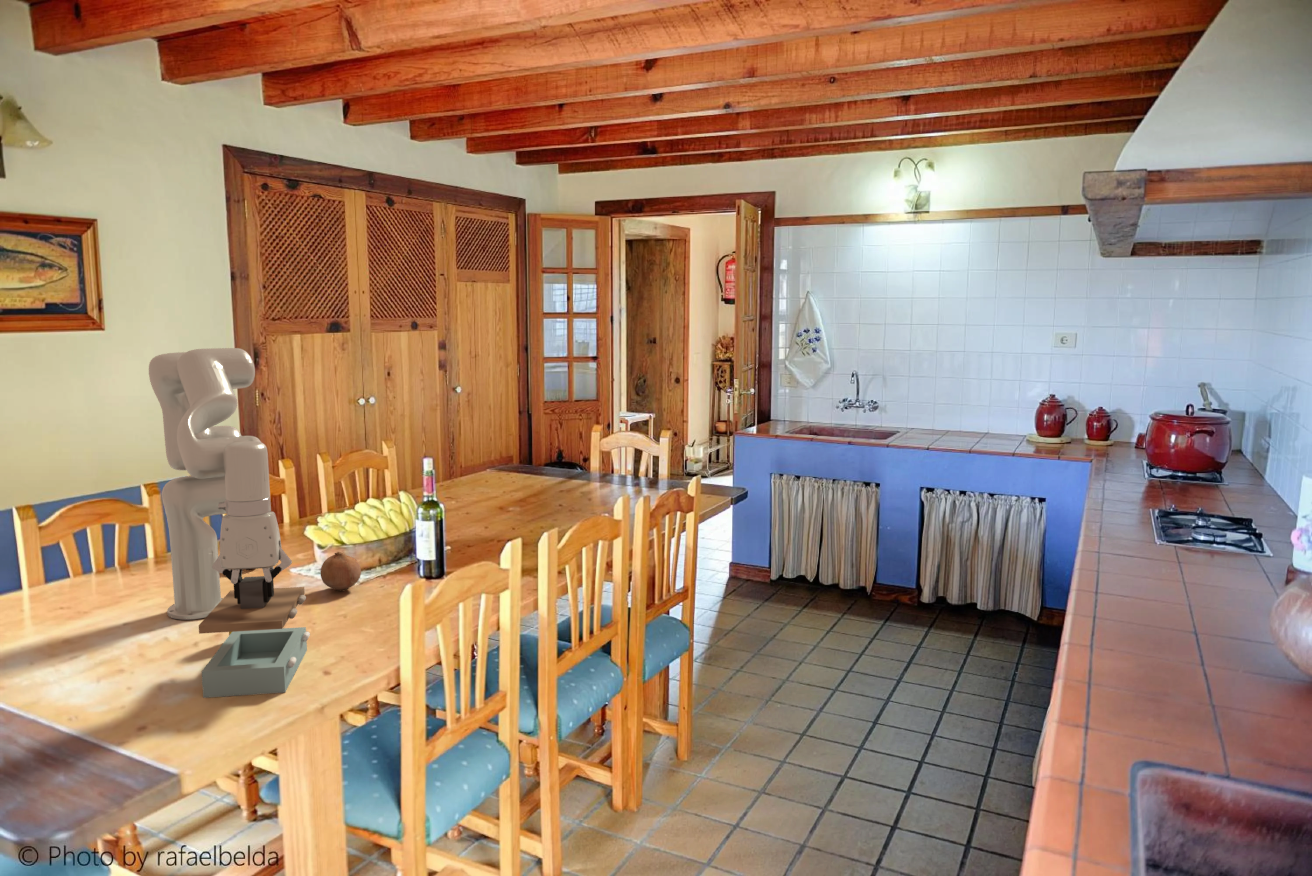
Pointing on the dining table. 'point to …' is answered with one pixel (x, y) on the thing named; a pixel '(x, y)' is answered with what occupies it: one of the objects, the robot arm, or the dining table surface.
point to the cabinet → (255, 662)
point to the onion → (340, 572)
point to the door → (253, 608)
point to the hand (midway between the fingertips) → (254, 600)
